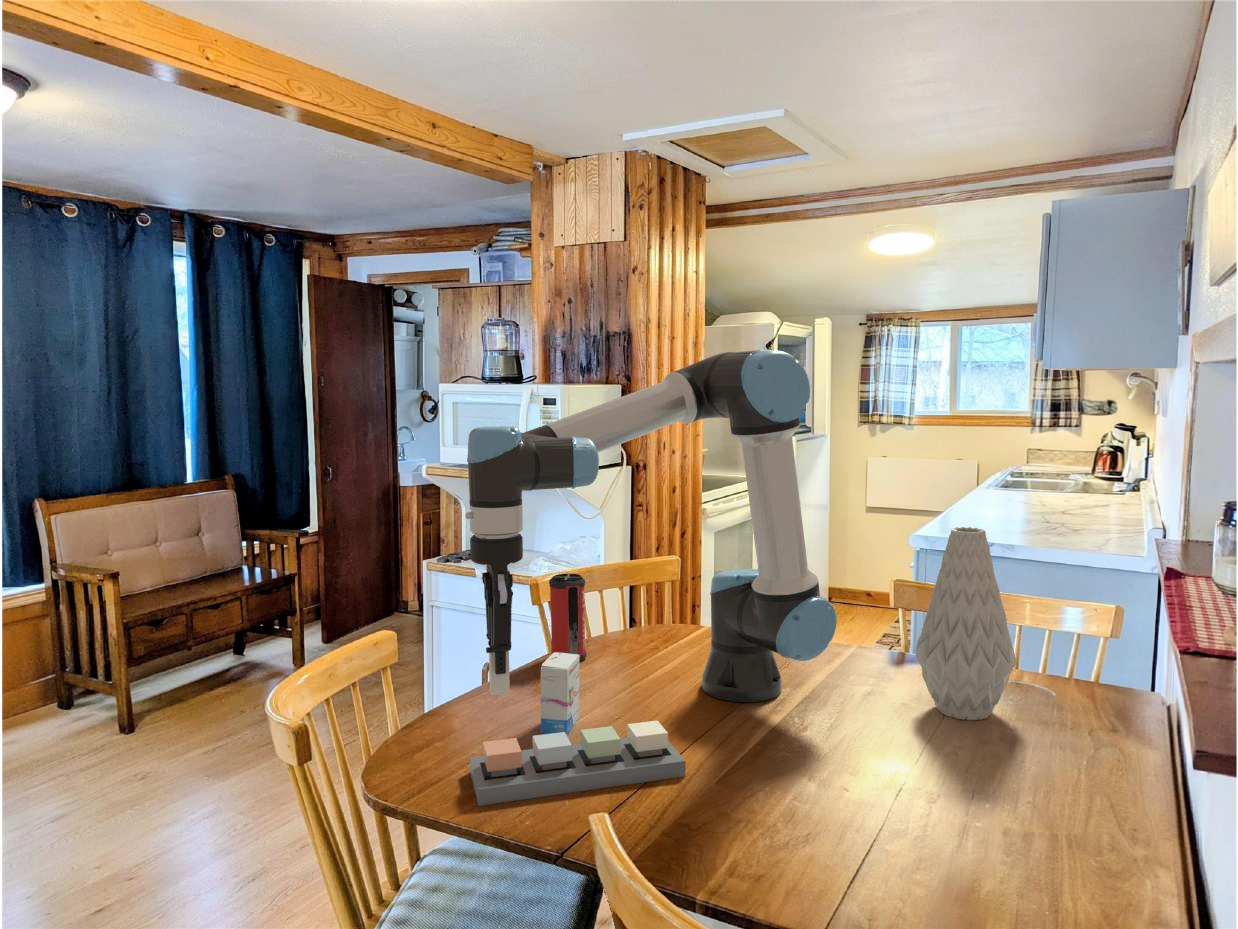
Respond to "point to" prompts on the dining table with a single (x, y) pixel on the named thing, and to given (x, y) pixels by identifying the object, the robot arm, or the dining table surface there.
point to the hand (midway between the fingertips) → (499, 692)
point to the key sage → (601, 744)
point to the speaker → (568, 614)
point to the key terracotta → (502, 756)
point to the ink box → (559, 693)
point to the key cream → (647, 738)
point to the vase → (966, 631)
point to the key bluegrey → (552, 750)
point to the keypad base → (574, 774)
